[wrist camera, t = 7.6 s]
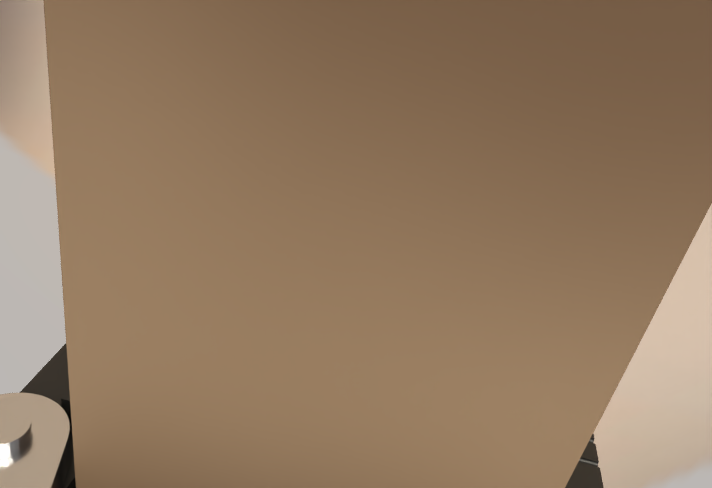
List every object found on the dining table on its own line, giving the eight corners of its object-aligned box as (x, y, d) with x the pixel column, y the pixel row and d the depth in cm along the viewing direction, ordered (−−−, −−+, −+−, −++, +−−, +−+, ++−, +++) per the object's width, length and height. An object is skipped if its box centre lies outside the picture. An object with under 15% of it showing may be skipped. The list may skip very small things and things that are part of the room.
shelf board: (295, -288, 7) (6, -551, 3) (689, -214, 7) (1010, -379, 3) (209, 562, 15) (98, 827, 11) (389, 615, 15) (348, 908, 11)
